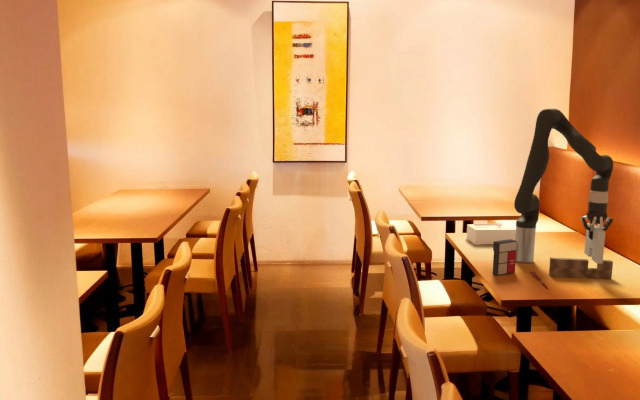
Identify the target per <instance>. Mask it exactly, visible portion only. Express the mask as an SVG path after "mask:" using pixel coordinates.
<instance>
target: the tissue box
mask: <svg viewBox="0 0 640 400" xmlns="http://www.w3.org/2000/svg"><path fill="white" fill-rule="evenodd" d="M466 226H467V227H466V239H467V241H468V242H470V241H471V243H472V244H473V245H475V246H476V245H477V246H478V245H479V244H493V242H494V241H501V240H509V239H512V240H515V233H516V226H515V225H512V224H511V223H501V222H500V221H497V220H496V221H495V223H479V222H478V223H476V222H474V223H473V224H466ZM479 246H480V245H479Z"/></svg>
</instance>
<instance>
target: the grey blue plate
mask: <svg viewBox="0 0 640 400" xmlns="http://www.w3.org/2000/svg"><path fill="white" fill-rule="evenodd" d="M589 224H590V222H587V225H588V227H589ZM588 235H589V230H587V229H585V240H584V241H585V242H584V252H583V253H584V254H585V255H586V256H587V257H588V258H591V261H592V262H594V263H595V264H597V263H599V264H603V260H604V254H605V252H604V250H605V242H606V241H605V240H606V231H603V230H602V229H600V228H599V227H598V225H596V224H595V226H594V229H593V239H592V240H591V239H590V238H589V237H588Z"/></svg>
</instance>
